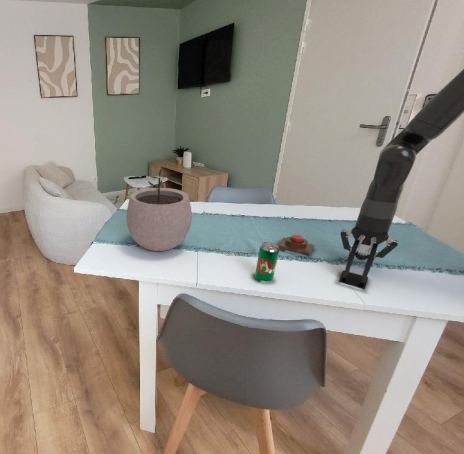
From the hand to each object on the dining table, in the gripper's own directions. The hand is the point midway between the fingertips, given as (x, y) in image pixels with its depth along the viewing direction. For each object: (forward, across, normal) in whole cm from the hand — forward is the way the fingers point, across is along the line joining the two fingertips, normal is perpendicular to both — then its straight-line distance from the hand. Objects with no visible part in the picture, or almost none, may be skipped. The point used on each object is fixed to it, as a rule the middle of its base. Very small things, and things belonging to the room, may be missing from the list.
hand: (358, 264), depth 92 cm
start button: (-2, -18, +3) cm, 18 cm away
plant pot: (+3, -58, -26) cm, 64 cm away
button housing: (+2, -18, +3) cm, 18 cm away
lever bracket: (+2, 0, -9) cm, 10 cm away
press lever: (-5, 0, -6) cm, 7 cm away
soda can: (+2, -20, -24) cm, 32 cm away
